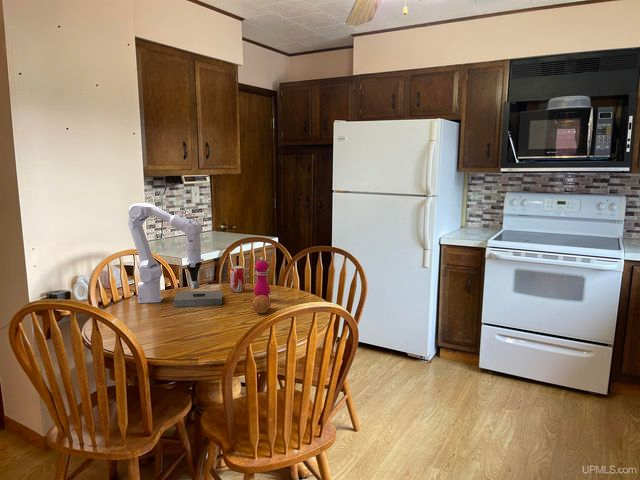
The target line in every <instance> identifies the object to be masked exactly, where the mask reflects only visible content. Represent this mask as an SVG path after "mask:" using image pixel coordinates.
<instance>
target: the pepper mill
mask: <svg viewBox="0 0 640 480" xmlns="http://www.w3.org/2000/svg"><path fill="white" fill-rule="evenodd" d="M254 265H255V266H254V268H255V270H256V275H257V281H256V284H255V286H254V289H253V293H254V295H255V297H254V299H255V298H256V297H257V296H258V295H265V296H267V297H268V298H269V299H270V296H269V295H270V293H271V288H270V285H269V283H268V280H267V279H268V278H267V275H268V269H269V263H268V261H266V260H265V259H264V257H263V256H261V257H259V260H258V261H256V263H255V264H254Z"/></svg>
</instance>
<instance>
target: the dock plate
mask: <svg viewBox="0 0 640 480" xmlns="http://www.w3.org/2000/svg"><path fill="white" fill-rule="evenodd" d="M223 298H224V297H223V290H204V291H202V290H201V291H200V290H199V291H178V292H177V294H176V295H175V297H174V299H173V305H174V306H173V307H174V308H184V307H205V306H206V307H209V306H210V307H211V306H213V307H214V306H222V304H223Z"/></svg>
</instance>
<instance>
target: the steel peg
mask: <svg viewBox="0 0 640 480" xmlns="http://www.w3.org/2000/svg"><path fill="white" fill-rule="evenodd" d="M200 287H201V286H200V270H199V271H198V278H197V281H192V280H191V276H190V275H189V288H190V289H191V290H196V289H200Z"/></svg>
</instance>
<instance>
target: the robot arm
mask: <svg viewBox="0 0 640 480" xmlns="http://www.w3.org/2000/svg"><path fill="white" fill-rule="evenodd" d="M127 214H128V223H127V224H128V228H129V231H130V234H131V236H132V240H133V243H134V245H135V249H136V251H137V255H138V258H139V261H140V264H139V266H138V269H139V279H140V280H141V281H138V284H137V300H138V301H137V302H138V304H151V303H161V302H162V300H163V298H164V297H163V296H161V295H162V294H161V292H162V291H161V277H162V276H163V273H164V272H163V269H162V267H161V266H160V265H159V263H158V261H157V260H156V259H155V258H154V256H153V253H152V250H151V248H150V244H149V242H148V239H147V236H146V233H145V231H144V227H143V225H144V223H145V221H146V220H147V219H148V218H149V217H152V216H153V217H155V218H158V219H161V220H163V221H166V222H168V223H170V224H169V225H170V226H171V227H173V228H174V229H177V230H179V231H181V232H183V233H184V234H185V236H186V255H187V260H186V262H187V263H188V265H186V268H187V270H188V273H189V277H190V276H191V280H192V281H197V278H198V271H199V272H200V270H201V266H202V264H203V263H202V262H204V261H205V260H204V258H202V254H201V253H202V251H201V250H202V249H201V233H202V230H203V226H202V224H201V223H200V222H198V221H197V220H196V221H193V220H192V219H191V218H190V219H189V218H186V217H184V216H183V215H182V214H174V215H173V214H172V213H169V212H167V211H165V210H164V209H161V208H160V207H157V206H156V205H155V204H152V203H149V202H143V203H134V204H131V206H130V207H129V208H128V210H127Z"/></svg>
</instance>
